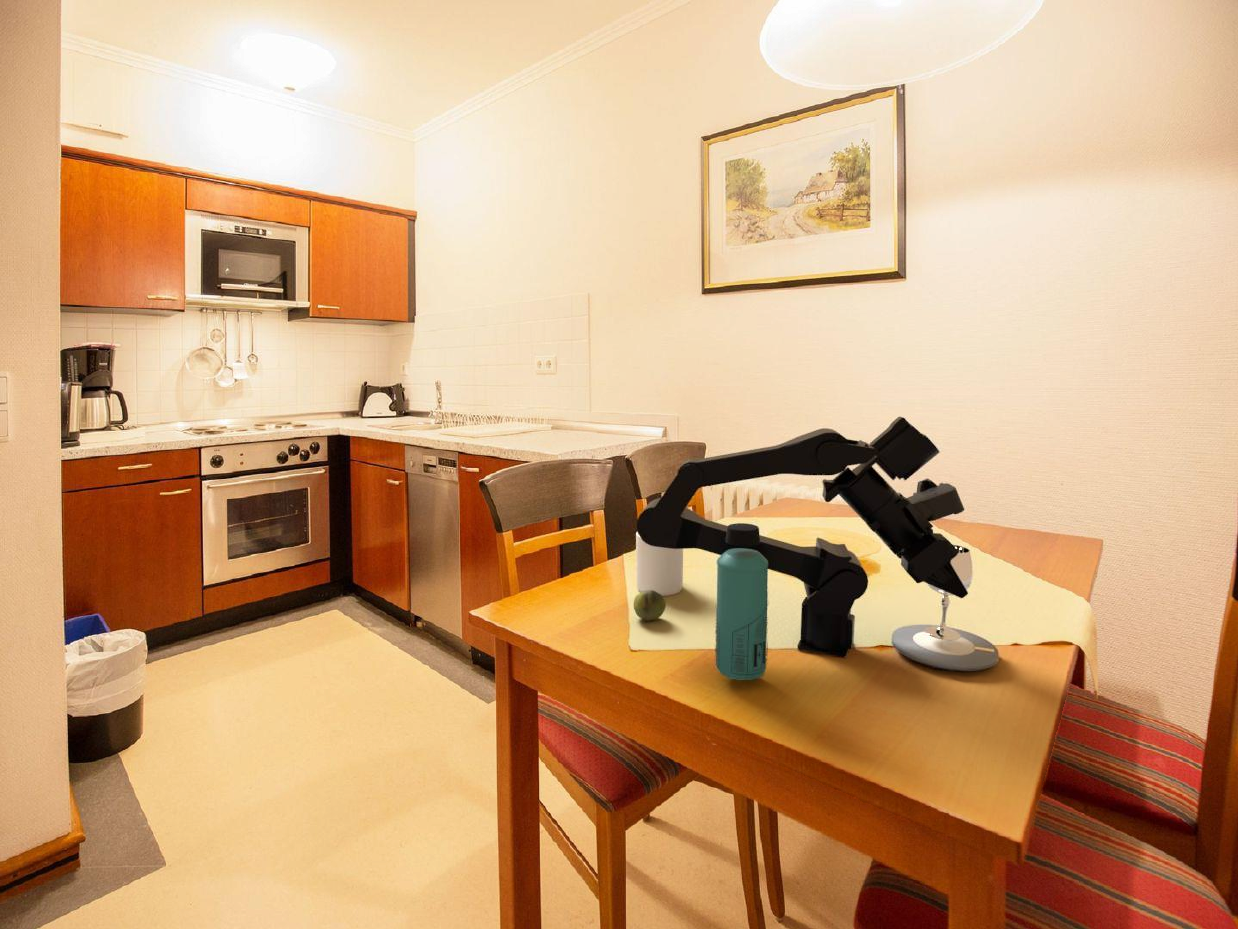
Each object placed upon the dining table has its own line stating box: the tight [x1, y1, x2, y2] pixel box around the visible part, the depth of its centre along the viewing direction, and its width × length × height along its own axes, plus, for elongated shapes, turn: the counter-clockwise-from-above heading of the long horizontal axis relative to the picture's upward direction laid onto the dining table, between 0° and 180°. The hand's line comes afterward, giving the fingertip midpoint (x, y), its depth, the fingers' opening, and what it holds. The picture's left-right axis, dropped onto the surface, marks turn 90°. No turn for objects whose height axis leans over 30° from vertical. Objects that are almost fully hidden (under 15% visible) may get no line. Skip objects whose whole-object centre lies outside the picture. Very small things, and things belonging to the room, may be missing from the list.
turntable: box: [891, 624, 999, 672], centre depth 89 cm, size 13×13×1 cm
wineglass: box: [925, 544, 974, 640], centre depth 88 cm, size 6×6×12 cm
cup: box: [635, 531, 684, 597], centre depth 117 cm, size 8×12×10 cm
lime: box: [633, 590, 667, 622], centre depth 101 cm, size 4×5×5 cm
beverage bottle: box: [714, 522, 770, 681], centre depth 81 cm, size 6×7×20 cm
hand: (957, 588), depth 87 cm, fingers closed on wineglass, 6 cm apart
